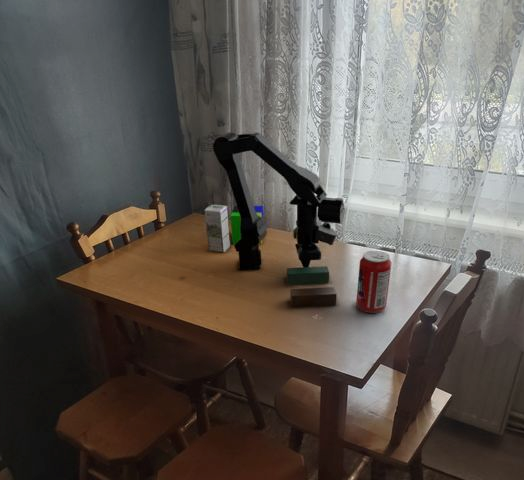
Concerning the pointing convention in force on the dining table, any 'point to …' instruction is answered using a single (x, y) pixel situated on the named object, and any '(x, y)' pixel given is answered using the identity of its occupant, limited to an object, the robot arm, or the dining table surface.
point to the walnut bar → (313, 297)
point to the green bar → (307, 275)
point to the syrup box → (217, 228)
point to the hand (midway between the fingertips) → (305, 269)
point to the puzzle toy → (236, 222)
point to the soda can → (373, 281)
